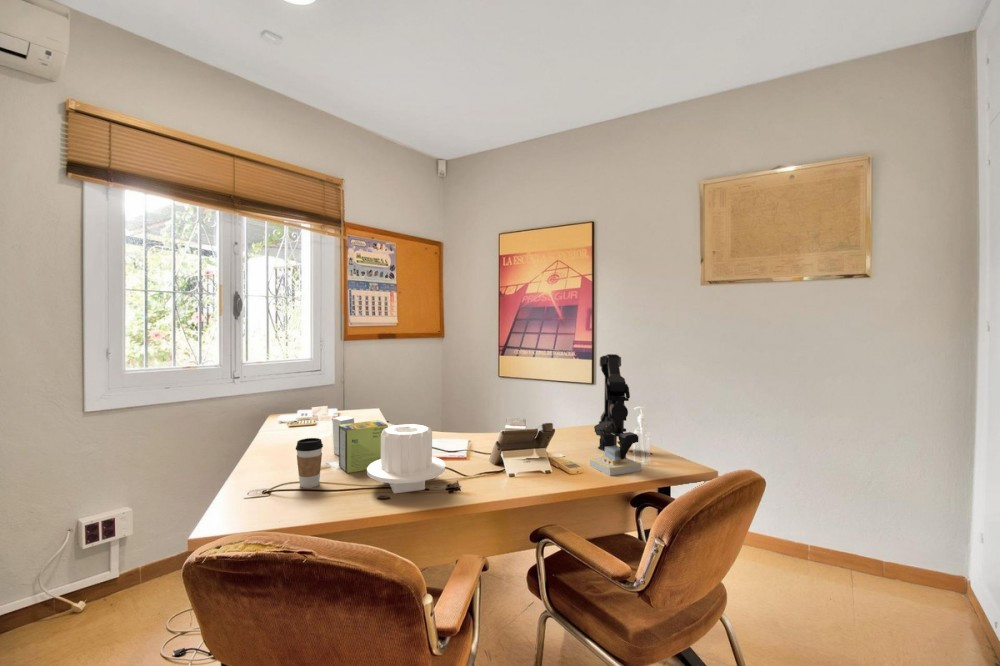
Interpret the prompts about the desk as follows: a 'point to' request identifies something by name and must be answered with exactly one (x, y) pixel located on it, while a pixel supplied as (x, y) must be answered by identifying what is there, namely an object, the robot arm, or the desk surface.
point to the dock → (615, 466)
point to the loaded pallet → (613, 455)
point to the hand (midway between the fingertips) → (615, 456)
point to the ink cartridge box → (515, 424)
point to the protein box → (360, 444)
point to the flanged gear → (406, 458)
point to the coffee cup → (309, 461)
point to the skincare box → (336, 423)
